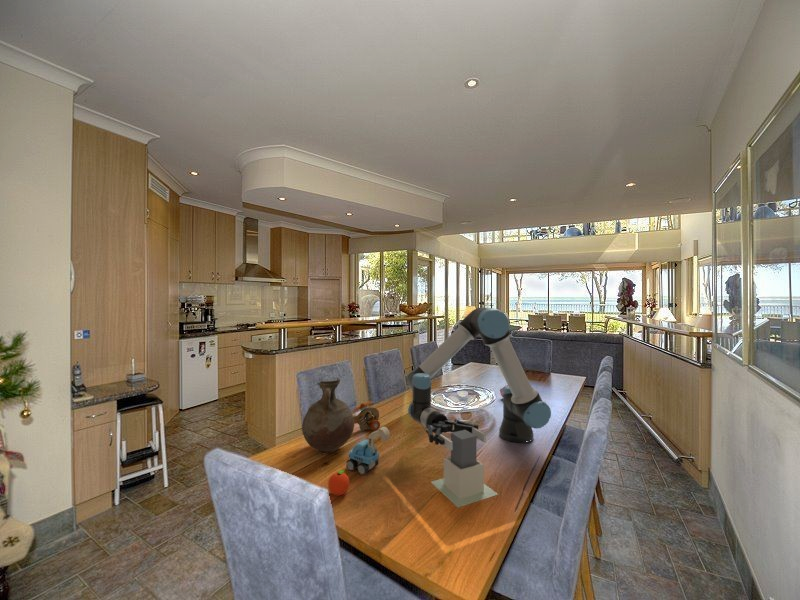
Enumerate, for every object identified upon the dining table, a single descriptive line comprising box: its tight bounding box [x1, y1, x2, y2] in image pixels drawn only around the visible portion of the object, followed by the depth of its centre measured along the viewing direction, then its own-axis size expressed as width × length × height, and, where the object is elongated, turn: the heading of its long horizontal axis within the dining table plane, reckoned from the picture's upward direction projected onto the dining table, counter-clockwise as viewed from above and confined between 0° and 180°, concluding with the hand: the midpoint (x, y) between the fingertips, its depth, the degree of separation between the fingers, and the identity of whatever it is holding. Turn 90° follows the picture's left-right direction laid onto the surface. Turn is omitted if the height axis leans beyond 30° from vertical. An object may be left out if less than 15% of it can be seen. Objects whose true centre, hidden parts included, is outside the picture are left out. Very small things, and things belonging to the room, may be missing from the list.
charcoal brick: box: [450, 430, 478, 469], centre depth 115 cm, size 6×6×10 cm
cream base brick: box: [443, 455, 485, 499], centre depth 115 cm, size 10×10×9 cm
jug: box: [301, 377, 355, 455], centre depth 146 cm, size 22×22×30 cm
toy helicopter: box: [351, 400, 381, 432], centre depth 166 cm, size 8×21×14 cm, turn 121°
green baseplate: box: [430, 477, 499, 508], centre depth 115 cm, size 16×16×1 cm
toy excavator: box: [345, 426, 391, 476], centre depth 129 cm, size 9×17×17 cm, turn 58°
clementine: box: [327, 470, 351, 497], centre depth 114 cm, size 8×7×7 cm
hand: (468, 442), depth 113 cm, fingers open, 13 cm apart
